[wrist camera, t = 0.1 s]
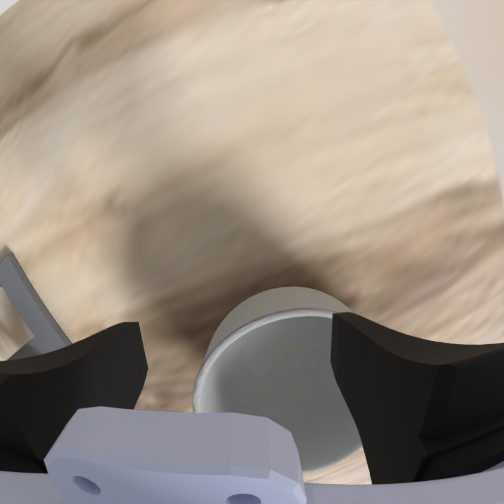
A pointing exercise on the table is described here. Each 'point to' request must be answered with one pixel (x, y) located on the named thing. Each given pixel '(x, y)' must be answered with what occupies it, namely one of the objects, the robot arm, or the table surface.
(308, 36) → the table surface
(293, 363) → the teacup
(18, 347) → the marked block two
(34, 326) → the mat
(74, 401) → the robot arm
